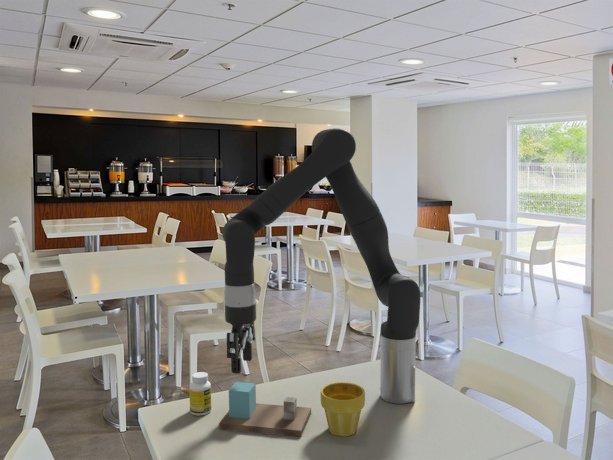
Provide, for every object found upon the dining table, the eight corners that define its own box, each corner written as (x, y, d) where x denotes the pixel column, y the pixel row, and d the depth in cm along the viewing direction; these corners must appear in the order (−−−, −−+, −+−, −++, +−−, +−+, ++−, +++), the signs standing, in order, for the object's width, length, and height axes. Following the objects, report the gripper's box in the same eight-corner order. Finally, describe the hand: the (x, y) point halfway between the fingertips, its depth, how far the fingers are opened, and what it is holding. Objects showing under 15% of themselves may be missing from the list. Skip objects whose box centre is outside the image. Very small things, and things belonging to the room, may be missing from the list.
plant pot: (341, 445, 120) (341, 403, 119) (312, 428, 128) (311, 389, 127) (373, 431, 127) (374, 391, 126) (343, 415, 135) (343, 378, 134)
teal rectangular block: (256, 409, 135) (255, 383, 135) (249, 419, 130) (249, 392, 130) (236, 407, 136) (235, 382, 136) (229, 417, 131) (228, 390, 131)
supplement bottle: (206, 417, 135) (205, 379, 134) (186, 415, 136) (185, 378, 135) (214, 407, 140) (213, 371, 139) (195, 406, 141) (193, 370, 140)
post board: (311, 413, 136) (311, 390, 136) (301, 436, 125) (300, 411, 124) (235, 407, 140) (235, 385, 140) (219, 429, 129) (218, 404, 128)
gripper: (245, 310, 123) (247, 378, 124) (263, 295, 136) (265, 357, 138) (214, 308, 124) (217, 376, 126) (235, 294, 138) (237, 355, 140)
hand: (242, 366), depth 132 cm, fingers open, 8 cm apart
